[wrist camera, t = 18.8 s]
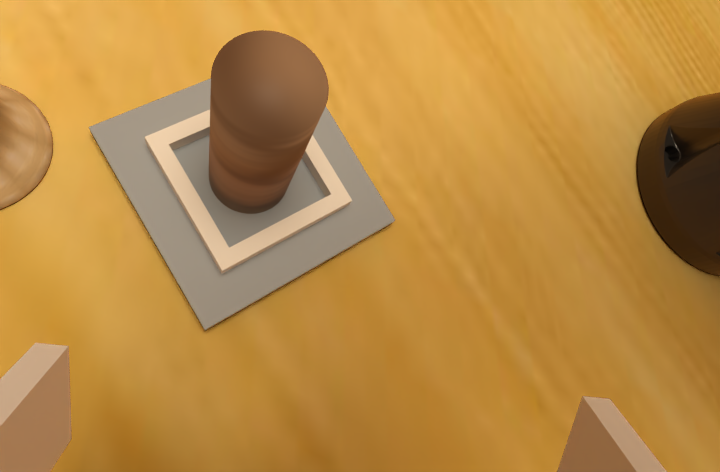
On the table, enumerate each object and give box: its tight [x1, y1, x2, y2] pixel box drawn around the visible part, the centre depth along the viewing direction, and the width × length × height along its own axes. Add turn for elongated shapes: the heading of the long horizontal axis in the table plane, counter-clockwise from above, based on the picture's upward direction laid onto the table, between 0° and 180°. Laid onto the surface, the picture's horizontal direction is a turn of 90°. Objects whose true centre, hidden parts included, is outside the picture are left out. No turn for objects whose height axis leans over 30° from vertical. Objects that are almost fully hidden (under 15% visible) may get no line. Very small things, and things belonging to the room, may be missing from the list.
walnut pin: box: [209, 31, 329, 214], centre depth 29 cm, size 5×5×12 cm
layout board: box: [89, 79, 395, 331], centre depth 34 cm, size 14×14×2 cm
